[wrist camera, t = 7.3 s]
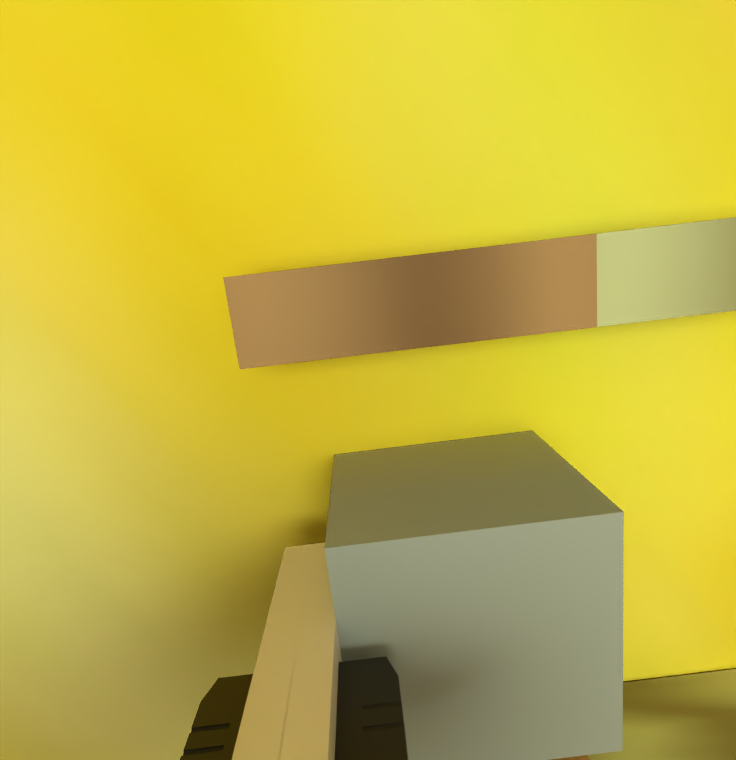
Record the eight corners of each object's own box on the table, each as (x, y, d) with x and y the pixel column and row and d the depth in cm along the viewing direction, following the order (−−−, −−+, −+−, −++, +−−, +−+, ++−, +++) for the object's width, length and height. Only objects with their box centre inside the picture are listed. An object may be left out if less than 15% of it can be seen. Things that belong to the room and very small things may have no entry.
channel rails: (333, 764, 17) (329, 867, 14) (252, 275, 13) (223, 277, 10) (780, 710, 17) (869, 801, 14) (831, 207, 13) (967, 190, 10)
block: (358, 624, 16) (360, 783, 11) (334, 454, 14) (324, 548, 9) (539, 602, 16) (622, 750, 11) (532, 430, 14) (623, 512, 10)
